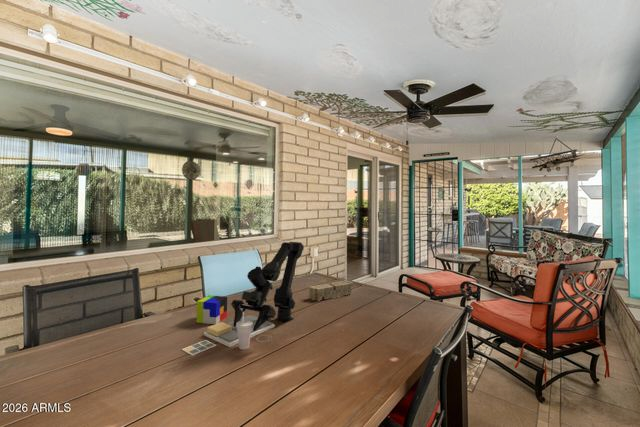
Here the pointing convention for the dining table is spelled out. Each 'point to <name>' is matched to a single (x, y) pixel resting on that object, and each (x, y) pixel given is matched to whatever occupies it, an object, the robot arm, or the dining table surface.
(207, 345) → the pattern card
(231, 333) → the button board
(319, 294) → the tan stone block
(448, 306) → the dining table surface
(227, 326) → the amber button
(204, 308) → the puzzle toy
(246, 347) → the smoothie
